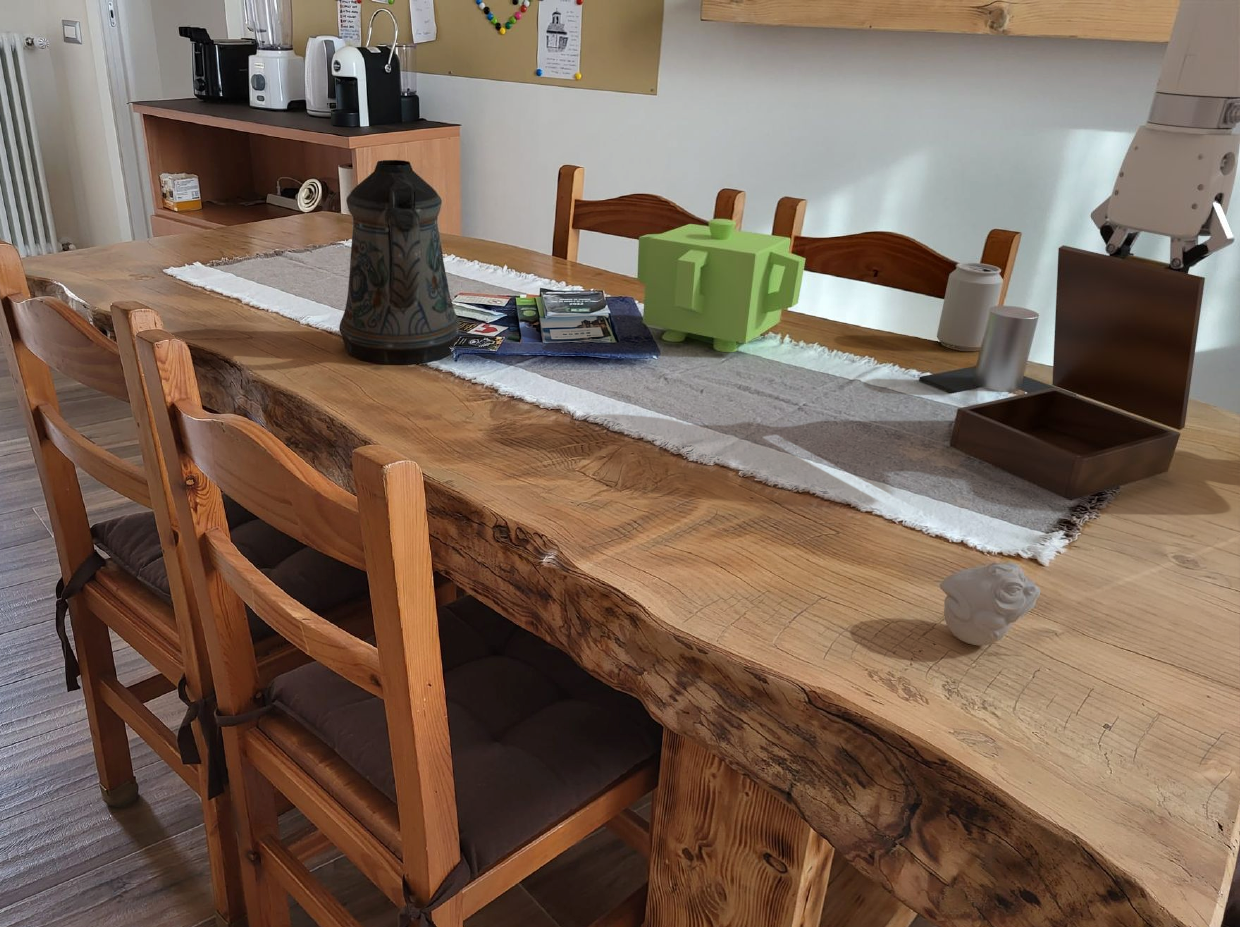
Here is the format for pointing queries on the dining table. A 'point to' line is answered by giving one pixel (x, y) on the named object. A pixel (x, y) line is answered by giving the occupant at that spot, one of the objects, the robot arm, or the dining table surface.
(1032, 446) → the brown shallow square box
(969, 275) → the can
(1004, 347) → the steel canister
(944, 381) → the mat
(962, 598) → the frog figurine
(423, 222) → the dark ornate jug
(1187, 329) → the lid
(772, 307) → the green square teapot
